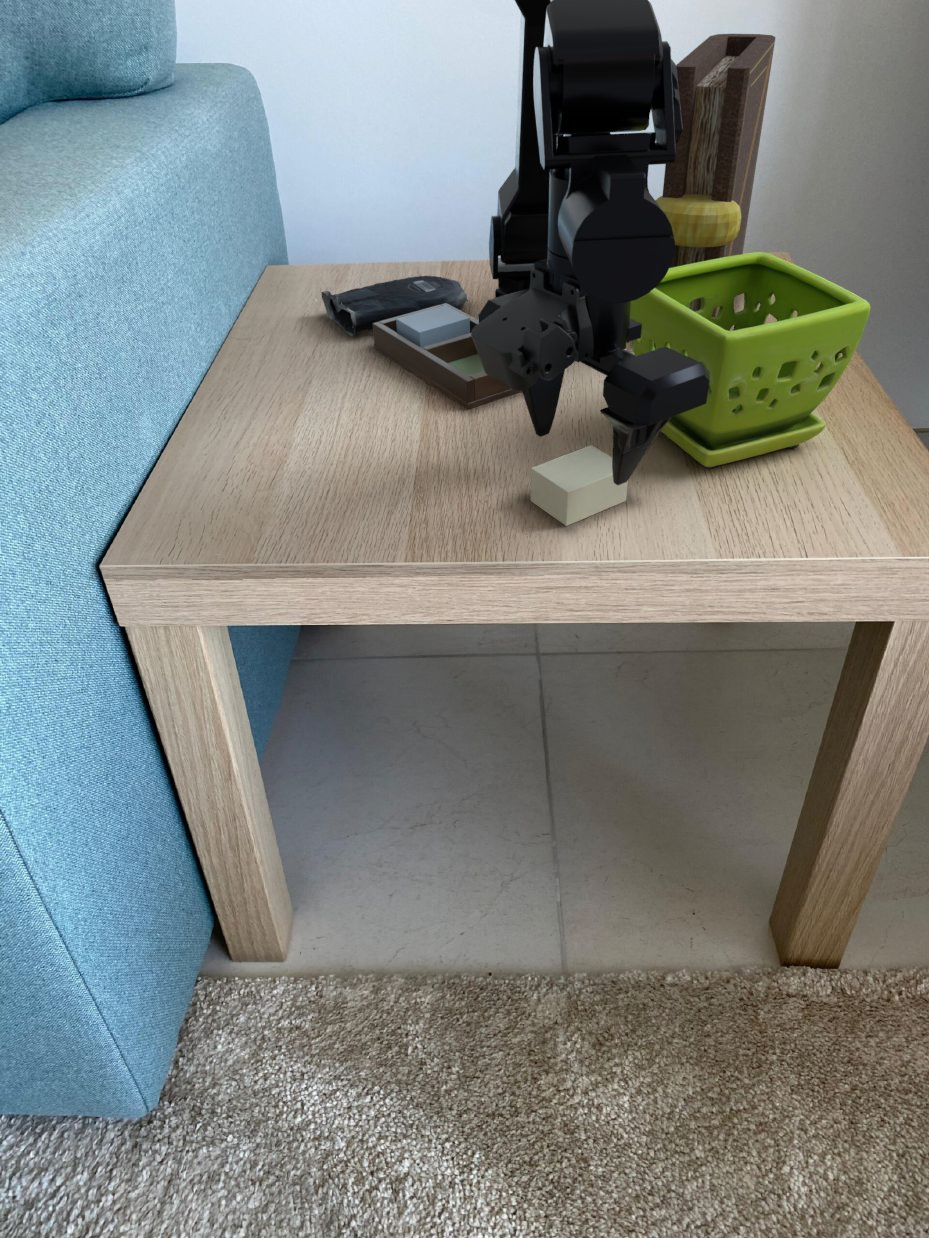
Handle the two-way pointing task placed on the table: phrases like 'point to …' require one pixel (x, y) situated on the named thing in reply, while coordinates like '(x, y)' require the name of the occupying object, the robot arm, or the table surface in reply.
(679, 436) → the flower pot
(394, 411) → the table surface
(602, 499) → the cream rectangular block
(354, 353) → the table surface
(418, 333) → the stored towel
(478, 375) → the shallow rectangular tray
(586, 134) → the robot arm
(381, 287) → the electronic device
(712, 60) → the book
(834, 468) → the table surface
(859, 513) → the table surface
